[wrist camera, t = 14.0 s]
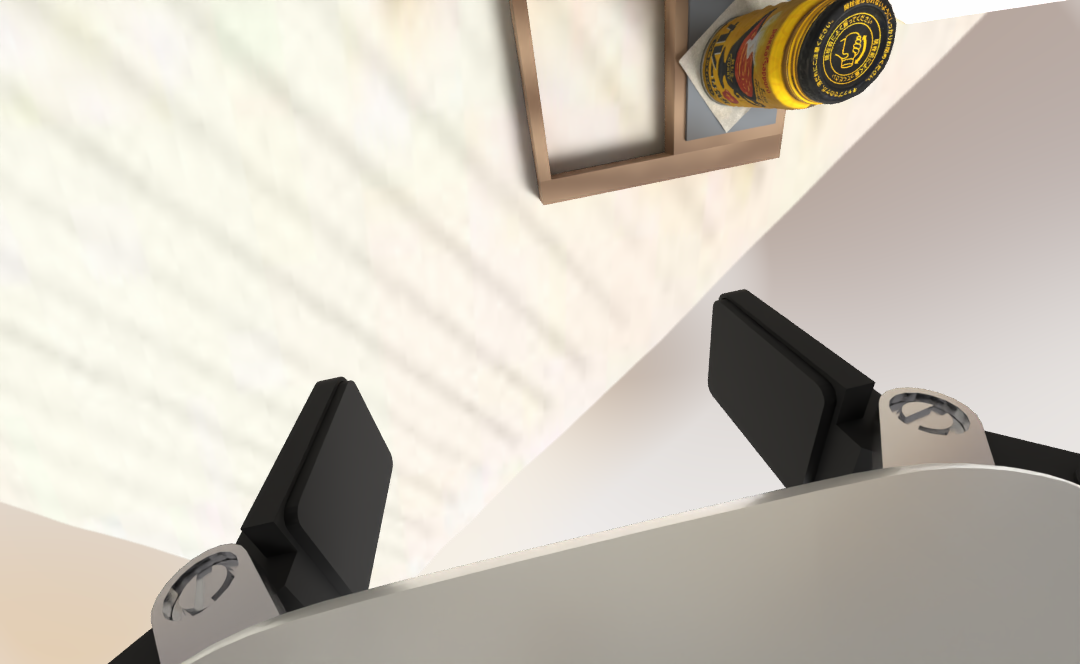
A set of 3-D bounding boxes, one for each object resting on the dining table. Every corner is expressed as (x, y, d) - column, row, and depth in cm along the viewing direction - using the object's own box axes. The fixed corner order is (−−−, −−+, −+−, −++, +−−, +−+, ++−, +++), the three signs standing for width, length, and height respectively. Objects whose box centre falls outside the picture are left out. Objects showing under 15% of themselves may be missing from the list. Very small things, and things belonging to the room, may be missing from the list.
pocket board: (502, -40, 29) (505, -49, 28) (794, -91, 30) (817, -103, 29) (540, 200, 38) (544, 206, 36) (765, 154, 39) (781, 157, 37)
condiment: (677, 61, 32) (774, 48, 22) (768, -38, 30) (923, -104, 20) (724, 132, 36) (828, 150, 25) (810, 47, 33) (962, 29, 23)
